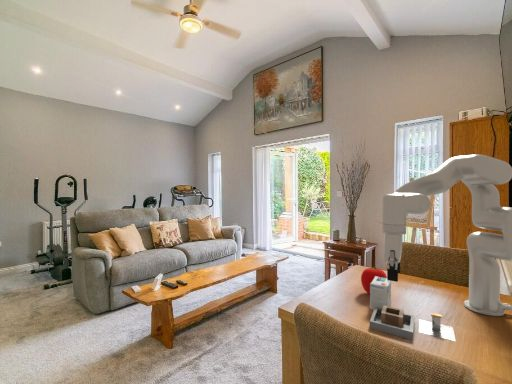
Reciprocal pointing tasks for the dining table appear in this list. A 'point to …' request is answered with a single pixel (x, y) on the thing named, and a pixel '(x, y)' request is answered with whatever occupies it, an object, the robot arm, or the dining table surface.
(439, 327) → the white piece
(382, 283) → the light bulb box
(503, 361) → the dining table surface
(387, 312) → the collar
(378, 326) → the tray
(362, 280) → the red rounded piece
